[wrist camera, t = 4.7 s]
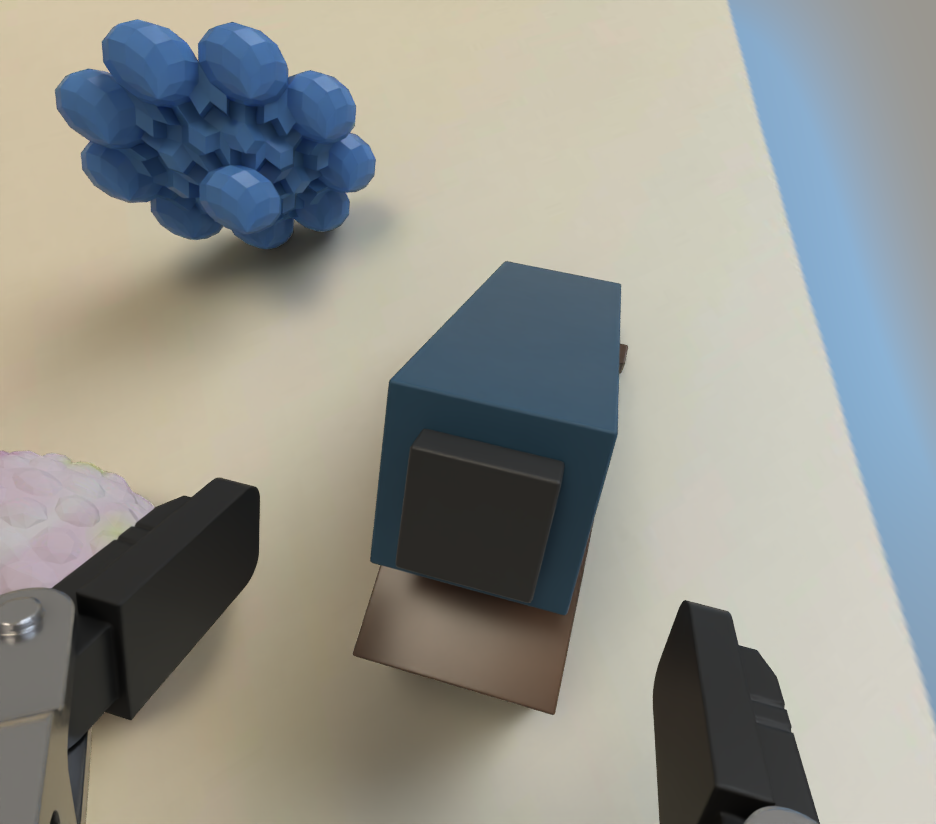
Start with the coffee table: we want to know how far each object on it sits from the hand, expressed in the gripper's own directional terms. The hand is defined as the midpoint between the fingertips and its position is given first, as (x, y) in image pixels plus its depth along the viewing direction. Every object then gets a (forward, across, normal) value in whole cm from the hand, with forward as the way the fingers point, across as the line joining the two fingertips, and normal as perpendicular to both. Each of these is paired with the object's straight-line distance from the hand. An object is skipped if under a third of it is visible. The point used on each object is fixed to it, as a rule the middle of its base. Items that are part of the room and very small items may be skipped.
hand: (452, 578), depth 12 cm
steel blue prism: (+10, 0, 0) cm, 10 cm away
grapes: (+21, +14, 0) cm, 25 cm away
